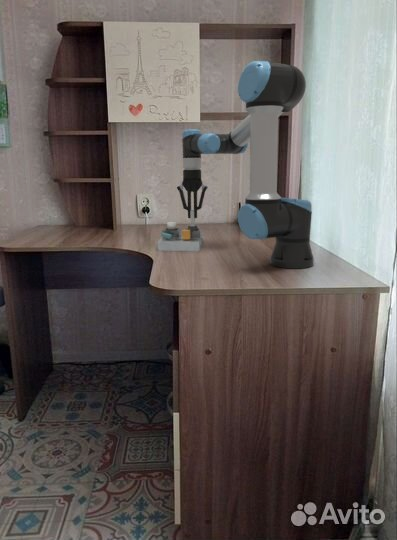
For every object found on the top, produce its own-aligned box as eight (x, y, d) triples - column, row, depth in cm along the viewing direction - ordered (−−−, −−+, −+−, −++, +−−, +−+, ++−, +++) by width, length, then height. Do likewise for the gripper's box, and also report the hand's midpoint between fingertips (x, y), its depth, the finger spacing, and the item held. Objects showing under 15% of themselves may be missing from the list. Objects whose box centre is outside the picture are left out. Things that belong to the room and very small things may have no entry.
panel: (199, 251, 172) (199, 234, 170) (157, 250, 174) (157, 233, 172) (203, 244, 186) (202, 228, 184) (164, 243, 188) (164, 227, 186)
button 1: (175, 229, 180) (175, 222, 180) (166, 229, 181) (166, 222, 180) (177, 228, 184) (177, 221, 183) (168, 228, 185) (168, 221, 184)
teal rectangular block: (170, 238, 175) (171, 235, 174) (161, 236, 175) (161, 233, 175) (171, 237, 177) (172, 234, 177) (162, 235, 177) (162, 232, 177)
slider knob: (189, 239, 174) (189, 230, 173) (182, 239, 174) (182, 230, 173) (190, 238, 176) (190, 229, 176) (183, 238, 177) (183, 229, 176)
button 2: (196, 234, 180) (196, 227, 179) (187, 234, 180) (187, 227, 179) (198, 232, 184) (197, 225, 183) (188, 232, 184) (188, 225, 183)
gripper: (208, 168, 178) (208, 224, 184) (177, 168, 179) (178, 224, 185) (207, 169, 171) (207, 227, 177) (174, 169, 172) (176, 227, 178)
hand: (192, 225), depth 181 cm, fingers closed
